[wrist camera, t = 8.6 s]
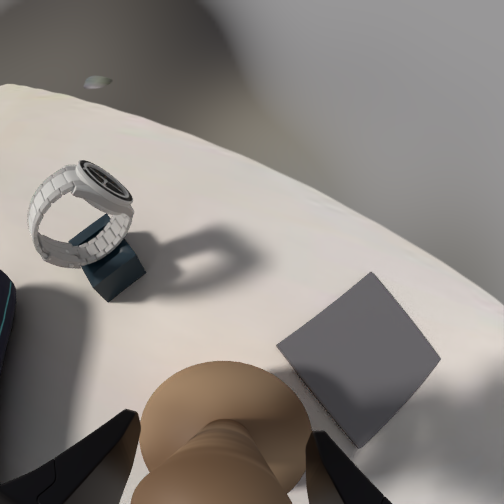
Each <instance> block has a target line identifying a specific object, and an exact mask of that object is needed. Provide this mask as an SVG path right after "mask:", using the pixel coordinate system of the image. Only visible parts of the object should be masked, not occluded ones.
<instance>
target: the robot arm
mask: <svg viewBox="0 0 504 504" xmlns="http://www.w3.org/2000/svg"><path fill="white" fill-rule="evenodd" d="M140 433H141V425H140V420H139V416H138V413H137V412H136V411H133V410H129V409H125V410H123V411H122V412H120V413H119V414H118V415H116V416H115V417H114V418H112V419H111V420H109V421H108V422H107V423H105V424H104V425H102V426H101V427H99V428H98V429H97V430H95V431H94V432H92V433H91V434H89V435H88V436H87V437H85V438H84V439H82V440H81V441H79V442H78V443H76V444H75V445H73V446H72V447H70V448H69V449H67V450H66V451H64V452H63V453H61V454H60V455H58V456H57V457H55V460H54V459H52V460H51V461H49V462H47V463H46V464H44V465H42V466H41V467H39V468H37V469H36V470H34V471H32V472H29V473H27V474H25V475H23V476H21V477H18V478H16V479H14V480H11V481H9V482H6V483H4V484H1V485H0V504H119V502H120V499H121V496H122V494H123V491H124V488H125V486H126V483H127V480H128V478H129V475H130V472H131V469H132V466H133V462H134V458H135V454H136V449H137V445H138V441H139V437H140ZM305 454H306V484H307V493H308V499H309V504H392V503H391V502H390V501H389V500H388V499H387V498H386V497H384V495H383V494H382V493H381V492H380V491H379V490H378V489H377V488H376V487H375V486H374V485H373V484H372V483H371V482H370V481H369V479H368V478H367V477H366V476H365V475H364V474H363V473H362V472H361V471H360V470H359V469H358V468H357V467H356V466H355V464H354V463H353V462H352V461H351V460H350V459H349V458H348V457H347V456H346V455H345V453H344V452H343V451H342V450H341V449H340V448H339V447H338V446H337V445H336V443H335V442H334V441H333V440H332V439H331V438H330V437H329V435H328V434H327V433H326V432H325V431H312V432H311V434H310V437H309V439H308V441H307V444H306V448H305Z"/></svg>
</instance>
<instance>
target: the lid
mask: <svg viewBox="0 0 504 504" xmlns="http://www.w3.org/2000/svg"><path fill="white" fill-rule="evenodd" d="M140 425H141V433H140V437H139V442H140V448H141V452H142V456H143V459H144V462H145V464H146V466H147V468H148V470H149V472H150V473H149V474H148V475H146V476H145V477H144V478H143V479H142V480H141V482H140V483H139V484H138V486H137V487H136V489H135V491H134V493H133V495H132V499H131V504H292V502H291V500H290V499H289V497H288V495H287V493H288V492H290V491H291V490H292V489H293V488H294V486H295V485H296V484H297V483H298V482H299V480H300V479H301V477H302V476H303V474H304V472H305V470H306V454H305V448H306V444H307V441H308V439H309V437H310V434H311V432H312V429H311V424H310V420H309V417H308V414H307V412H306V410H305V408H304V406H303V404H302V403H301V401H300V400H299V398H298V397H297V395H296V394H295V393H294V392H293V391H292V390H291V389H290V387H288V386H287V385H286V384H285V383H284V382H283V381H281V380H280V379H279V378H277V377H276V376H274V375H273V374H271V373H269V372H267V371H265V370H263V369H260V368H258V367H255V366H252V365H249V364H244V363H240V362H232V361H213V362H205V363H201V364H197V365H194V366H191V367H188V368H185V369H183V370H181V371H179V372H177V373H176V374H174V375H173V376H171V377H170V378H168V379H167V380H166V381H165V382H163V383H162V384H161V385H160V386H159V387H158V388H157V389H156V391H155V392H154V393H153V394H152V396H151V397H150V399H149V401H148V402H147V404H146V406H145V409H144V411H143V414H142V418H141V421H140Z"/></svg>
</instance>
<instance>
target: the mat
mask: <svg viewBox="0 0 504 504" xmlns="http://www.w3.org/2000/svg"><path fill="white" fill-rule="evenodd" d="M276 346H277V348H278V349H279V350H280V352H281V353H282V354H283V355H284V357H285V358H286V359H287V361H288V362H289V363H290V365H291V366H292V367H293V368H294V370H295V371H296V372H297V374H298V375H299V376H300V377H301V379H302V380H303V381H304V383H305V384H306V385H307V386H308V388H309V389H310V390H311V391H312V393H313V394H314V395H315V396H316V398H317V399H318V400H319V401H320V403H321V404H322V405H323V406H324V408H325V409H326V410H327V411H328V413H329V414H330V415H331V416H332V417H333V419H334V420H335V421H336V422H337V424H338V425H339V426H340V427H341V428H342V430H343V431H344V432H345V433H346V434H347V436H348V437H349V438H350V439H351V440H352V442H353V443H354V444H355V445H356V446H357V448H361V447H362V446H363V445H364V444H365V443H366V442H367V441H369V440H370V439H371V438H372V437H373V436H374V435H375V434H376V433H377V432H378V431H379V430H380V429H381V428H382V427H383V426H384V425H385V424H386V423H387V422H388V421H389V420H390V419H391V418H392V417H393V416H394V415H395V414H396V412H397V411H398V410H399V409H400V408H401V407H402V406H403V405H404V404H405V403H406V401H407V400H408V399H409V398H410V397H411V396H412V395H413V393H414V392H415V391H416V390H417V389H418V387H419V386H420V385H421V384H422V382H423V381H424V380H425V379H426V377H427V376H428V375H429V374H430V372H431V371H432V370H433V368H434V367H435V366H436V364H437V363H438V362H439V360H440V358H439V356H438V355H437V354H436V352H435V351H434V349H433V348H432V347H431V345H430V344H429V343H428V341H427V340H426V339H425V337H424V336H423V335H422V333H421V332H420V331H419V329H418V328H417V327H416V326H415V324H414V323H413V322H412V320H411V319H410V318H409V317H408V315H407V314H406V313H405V312H404V310H403V309H402V308H401V307H400V305H399V304H398V303H397V302H396V300H395V299H394V298H393V297H392V296H391V294H390V293H389V292H388V291H387V290H386V288H385V287H384V286H383V285H382V284H381V282H380V281H379V280H378V279H377V278H376V276H375V275H374V274H373V273H372V272H370V273H369V274H367V275H366V276H365V277H364V278H363V279H361V280H360V281H359V282H358V283H357V284H355V285H354V286H353V287H352V288H351V289H349V290H348V291H347V292H346V293H344V294H343V295H342V296H341V297H340V298H338V299H337V300H336V301H335V302H333V303H332V304H331V305H329V306H328V307H327V308H326V309H324V310H323V311H322V312H320V313H319V314H318V315H317V316H315V317H314V318H313V319H311V320H310V321H309V322H307V323H306V324H305V325H303V326H302V327H301V328H299V329H298V330H296V331H295V332H294V333H292V334H291V335H290V336H288V337H287V338H285V339H284V340H283V341H281V342H280V343H278V344H277V345H276Z"/></svg>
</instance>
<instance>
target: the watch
mask: <svg viewBox="0 0 504 504" xmlns="http://www.w3.org/2000/svg"><path fill="white" fill-rule="evenodd" d="M53 175H54V177H53ZM53 175H50V176H49V177H48V178H47V179H46V180H45V181H44V182H43V184H41V185H40V186H39V187H38V189H37V190H36V192H35V195H33V197H32V199H31V202H30V205H29V209H28V214H27V218H28V219H27V222H28V227H29V231H30V234H31V237H32V240H33V243H34V246H35V248H36V250H37V252H38V253H39V254H40V255H41V257H42V259H43V260H44V261H46V262H48V263H50V264H53V265H56V266H60V267H65V268H81V267H82V269H83V271H84V273H85V275H86V276H87V278H88V280H89V282H90V283H91V285H92V287H93V288H94V289H95V290H96V291H97V292H98V293H99V294H100V295H101V296H102V297H103V298H104V299H105V300H106V301H107V302H109V301H110V300H112V299H113V298H114V297H115V296H117V295H118V294H119V293H120V292H122V291H123V290H124V289H126V288H127V287H128V286H130V285H131V284H132V283H133V282H135V281H136V280H137V279H139V278H140V277H141V276H143V275H144V274H145V273H146V271H145V270H144V268H143V266H142V264H141V262H140V261H139V259H138V257H137V255H136V254H135V252H134V251H133V250H132V248H131V247H130V246H129V244H128V243H127V242H126V240H125V239H124V237H125V236H126V234H127V232H128V230H129V228H130V225H131V222H132V217H133V214H134V210H133V208H132V207H131V205H130V204H131V203H132V202H133V198H132V196H131V194H130V193H129V192H128V190H127V189H126V188H125V187H124V186H123V185H122V184H121V183H120V182H119V181H118V180H117V179H115V178H114V177H113V176H112V175H110V174H109V173H108V172H106V171H105V170H103V169H102V168H100V167H99V166H97V165H95V164H93V163H91V162H88V161H85V160H80V161H79V162H78V163H77V165H66V166H63V168H62V169H60V170H58V171H56V172H55V173H54V174H53ZM52 183H53V184H52ZM55 190H56V191H55ZM72 190H73V191H72ZM70 191H72V192H71V193H72V195H74V196H75V197H79V198H83V199H84V200H86V201H87V202H88V203H89V204H91V205H92V206H94V207H95V208H97V209H99V210H100V211H103V212H105V213H106V214H105V215H104V216H102V217H101V218H99V219H98V220H97V221H95V222H94V223H92V224H91V225H90V226H88V227H87V228H86V229H84V230H83V231H82V232H80V233H79V234H78V235H76V236H75V237H74V238H72V239H71V240H70V241H68V242H69V243H65V242H60V241H56V240H53V239H51V238H48V237H47V236H45V235H41V234H40V233H39V232H38V229H39V226H38V225H40V223H41V220H42V218H43V214H45V213H46V211H47V210H48V209H49V208H50V206H51V203H54V202H55V201H57V200H58V199H59V198H61V196H62V194H63V195H65V194H67V193H68V192H70ZM61 193H62V194H61ZM107 213H108V214H111V215H112V217H111V219H110V217H109V216H108V214H107ZM80 266H81V267H80Z"/></svg>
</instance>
